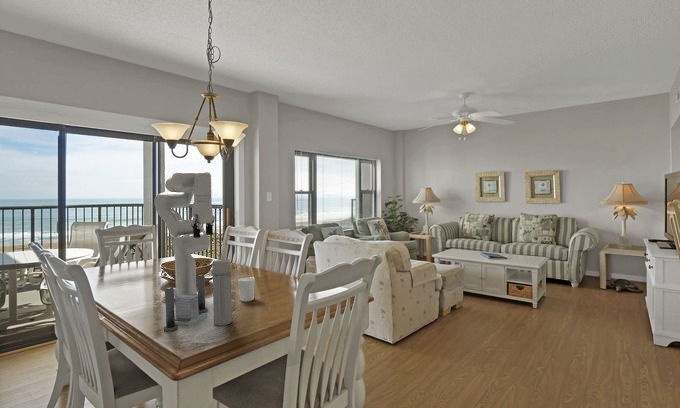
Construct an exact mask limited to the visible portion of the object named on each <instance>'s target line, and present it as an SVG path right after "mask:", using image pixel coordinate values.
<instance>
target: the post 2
mask: <svg viewBox="0 0 680 408" xmlns="http://www.w3.org/2000/svg"><path fill="white" fill-rule="evenodd" d="M205 279H206V278H205V274H198V275H196V285H197V292H198V313H207V312H208V311H209V308H208V307H206V285H205V284H206V281H205Z"/></svg>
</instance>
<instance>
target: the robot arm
mask: <svg viewBox="0 0 680 408" xmlns="http://www.w3.org/2000/svg"><path fill="white" fill-rule="evenodd" d="M164 185H165V188H166V190H167V191H168V192H162V193H158V194H157V195H156V196H155V197H154V201H153V202H154V208H155V211H156V213H157V214H158V216H159V217H160V218H161V219H162V220H163V222H164V224H165V225H166V228H167V231H168V233H169V234H170V236H171V237H172V243H171V244H172V245H171V246H172V250H173V254H174V255H173V256H174V270H175V272H174V273H175V274H174V275H175V287H174V300H175V298H176V297H178V296H180V295H193V296H198V290H197V269H196V268H197V266H196V260H195V258H194V257H193V255H192V254H193V253H198V252H199V253H200V252H204V251H206V250H208V249H209V247H210V245H211V244H210V238H209V236H212V235H214V223H215V219H216V217H215V215H214V214H213V213H214V212H213V204H212V202H213V201H212V175H211V173H210V172H206V171H177V172H174V173H173V174H172V176H171V177H168V178H167V180H166V181H165V184H164ZM192 200H193V203H192V207H191V209H192V211H191V218H190V219H184V218H182V216H181V214H180V213H179V212H178V211H177V210H175V209H182V208H183V209H185V208H188V207H189V206H190V204H191V202H192ZM203 225H206V226H205V228H204V227H203ZM191 253H192V254H191Z"/></svg>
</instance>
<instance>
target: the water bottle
mask: <svg viewBox="0 0 680 408" xmlns="http://www.w3.org/2000/svg"><path fill="white" fill-rule="evenodd" d="M211 267H212V268H211V273H210V275H211V276H212V299H213V301H212V302H213V307H212V308H213V324H214V325H215V326H218V327H222V326H223V327H224V326H228V325H230V324H231V323H233V308H232V307H233V304H232V302H233V301H232V300H233V299H232V297H233V296H232V273H233V272H232V270H231V263H230V260H229V259H217V260H213V261H212V266H211Z"/></svg>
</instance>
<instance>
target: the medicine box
mask: <svg viewBox="0 0 680 408" xmlns="http://www.w3.org/2000/svg"><path fill="white" fill-rule="evenodd" d="M174 309H175V317H176V318H182V319H194V318H196V317H197V316H199V314H198V296H193V295H180V296H178V297H176V298H175V299H174Z"/></svg>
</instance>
